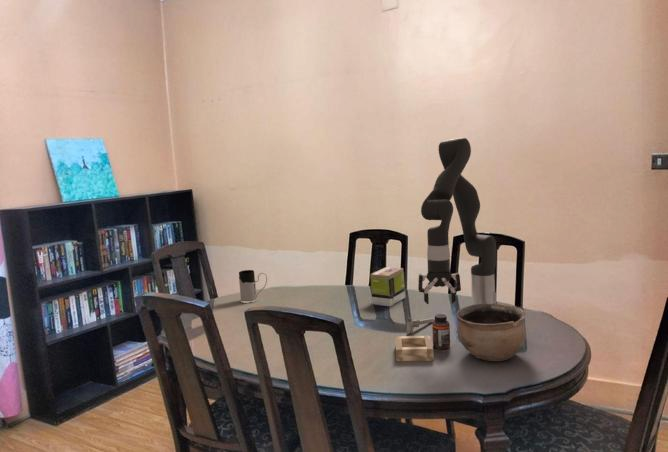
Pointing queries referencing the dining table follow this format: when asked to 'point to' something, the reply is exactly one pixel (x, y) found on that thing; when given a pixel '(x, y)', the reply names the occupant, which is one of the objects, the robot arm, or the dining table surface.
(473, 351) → the ceramic bowl
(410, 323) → the caliper
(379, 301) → the tea box
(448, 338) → the supplement bottle
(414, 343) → the square sleeve
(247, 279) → the glass holder
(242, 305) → the dining table surface
